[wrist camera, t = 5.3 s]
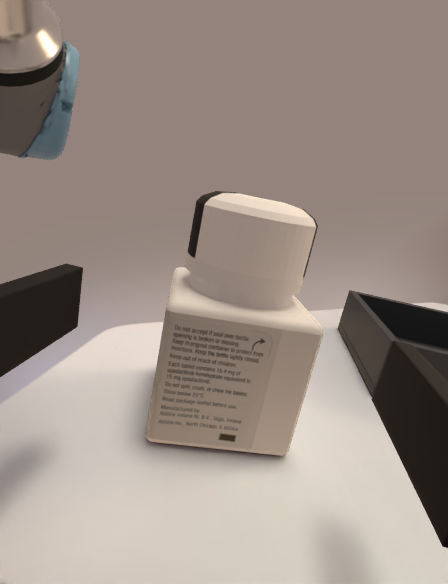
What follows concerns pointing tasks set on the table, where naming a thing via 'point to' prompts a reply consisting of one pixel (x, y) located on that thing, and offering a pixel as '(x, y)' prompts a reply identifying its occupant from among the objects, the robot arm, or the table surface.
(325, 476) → the table surface
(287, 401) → the container
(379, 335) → the tub
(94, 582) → the table surface
